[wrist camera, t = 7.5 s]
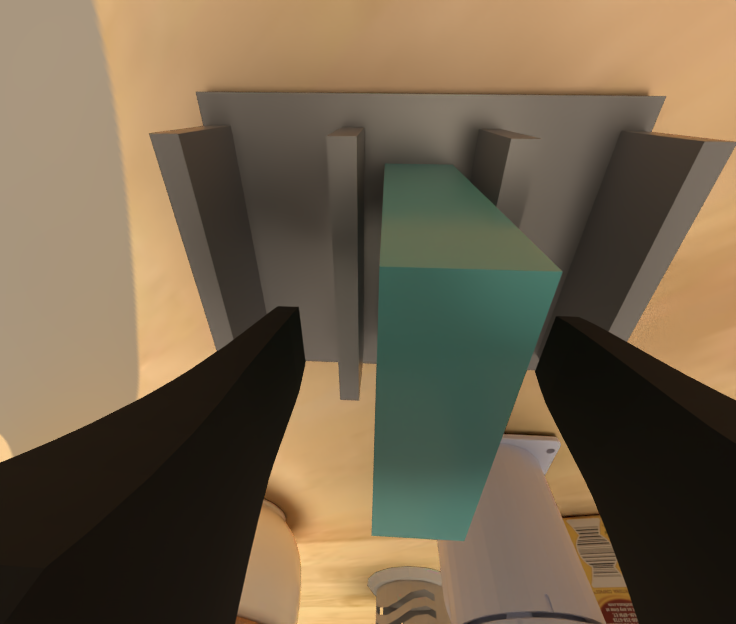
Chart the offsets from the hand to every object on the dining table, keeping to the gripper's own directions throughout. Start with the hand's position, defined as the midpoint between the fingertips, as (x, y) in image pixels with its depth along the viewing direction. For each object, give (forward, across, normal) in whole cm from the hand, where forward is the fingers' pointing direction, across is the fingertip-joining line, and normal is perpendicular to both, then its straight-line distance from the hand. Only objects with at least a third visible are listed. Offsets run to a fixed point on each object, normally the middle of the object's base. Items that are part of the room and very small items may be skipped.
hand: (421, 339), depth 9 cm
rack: (+6, 0, 0) cm, 6 cm away
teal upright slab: (+6, 0, 0) cm, 6 cm away
